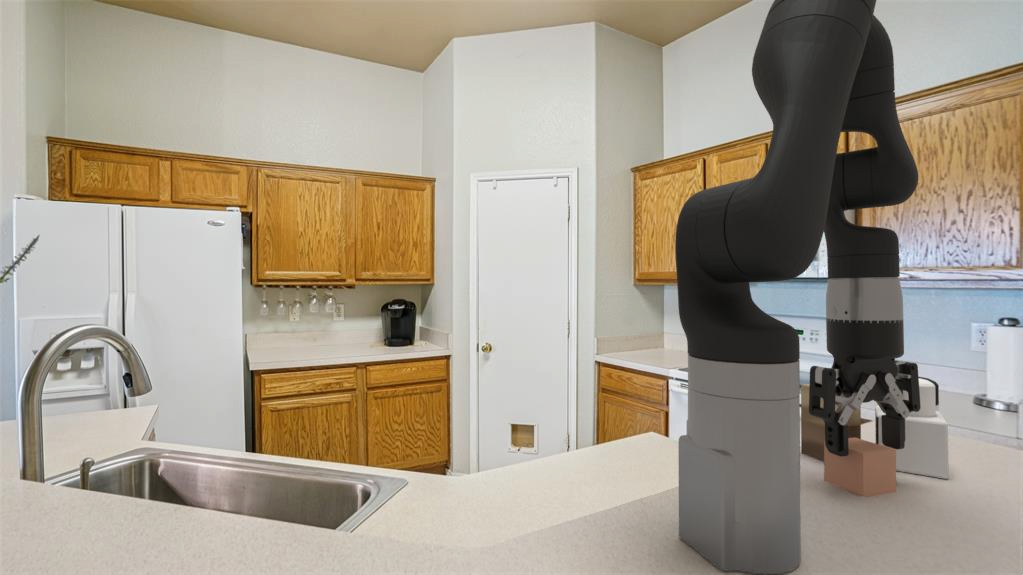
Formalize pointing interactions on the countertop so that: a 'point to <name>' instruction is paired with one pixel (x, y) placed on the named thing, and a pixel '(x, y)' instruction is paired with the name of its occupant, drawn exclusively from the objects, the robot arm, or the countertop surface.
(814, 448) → the tower bottom
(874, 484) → the clay block
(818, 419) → the tower top
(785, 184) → the robot arm
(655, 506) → the countertop surface
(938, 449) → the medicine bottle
